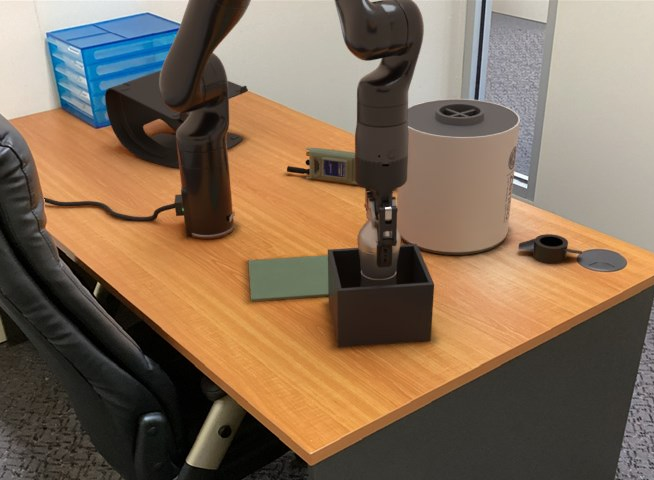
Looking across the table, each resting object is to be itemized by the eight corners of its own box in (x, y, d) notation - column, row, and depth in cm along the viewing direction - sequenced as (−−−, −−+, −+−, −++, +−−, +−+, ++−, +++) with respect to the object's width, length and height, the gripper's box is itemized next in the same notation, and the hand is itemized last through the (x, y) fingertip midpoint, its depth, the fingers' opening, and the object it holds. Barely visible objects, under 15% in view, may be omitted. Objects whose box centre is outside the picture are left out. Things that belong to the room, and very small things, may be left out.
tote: (338, 347, 130) (337, 290, 124) (328, 303, 141) (327, 249, 135) (430, 340, 131) (434, 284, 125) (414, 297, 142) (416, 243, 136)
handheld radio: (393, 191, 178) (284, 177, 186) (397, 186, 181) (290, 172, 189) (394, 161, 175) (283, 147, 183) (399, 156, 177) (289, 143, 186)
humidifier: (445, 268, 150) (454, 140, 137) (371, 228, 164) (373, 108, 151) (530, 235, 160) (546, 112, 147) (454, 199, 174) (462, 85, 161)
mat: (251, 301, 142) (250, 299, 142) (248, 262, 154) (248, 260, 153) (369, 293, 143) (369, 291, 143) (358, 255, 155) (358, 253, 154)
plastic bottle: (396, 333, 132) (400, 216, 121) (353, 330, 134) (354, 213, 123) (401, 312, 138) (405, 198, 127) (359, 309, 139) (360, 195, 128)
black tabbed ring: (540, 240, 158) (542, 226, 156) (585, 258, 151) (588, 244, 150) (513, 253, 154) (515, 238, 152) (558, 272, 147) (561, 257, 146)
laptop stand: (183, 121, 219) (176, 60, 211) (254, 138, 207) (249, 74, 199) (109, 152, 202) (99, 87, 194) (182, 172, 190) (174, 103, 182)
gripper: (348, 134, 126) (348, 234, 135) (362, 170, 114) (361, 277, 123) (398, 131, 126) (395, 231, 135) (417, 167, 114) (412, 273, 123)
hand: (379, 253), depth 129 cm, fingers open, 8 cm apart
